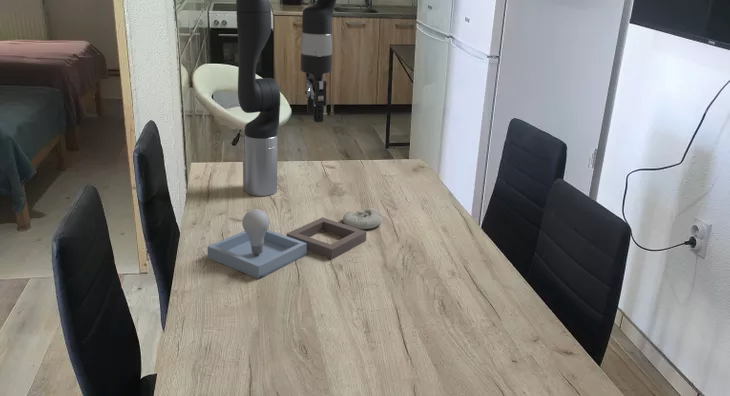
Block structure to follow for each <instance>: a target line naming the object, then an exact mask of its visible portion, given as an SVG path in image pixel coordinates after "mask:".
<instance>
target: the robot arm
mask: <svg viewBox="0 0 730 396" xmlns="http://www.w3.org/2000/svg"><path fill="white" fill-rule="evenodd" d="M235 2H236V3H235V4H236V5H235V8H236V9H235V10H236V13H235V14H236V27H237V29H236V30H237V43H238V45H237V46H238V71H237V72H238V73H237V99H238V104H239V106H240V109H241V110H242V111H243V112H244V113H246V114H247V113H248V114H253V113H259V114H257V116H256V117H255V118H254V119H252V120H250V121H249V122H247V123H246V124H245V126H244V158H243V159H242V189H243V191H245V193H246V194H248V195H250V196H260V197H266V196H271V195H274V194H276V193H277V192H278V129H279V126H280V112H281V111H280V110H281V91H280V86H279V84H278V82H277V81H276V79H274V78H272V77H264V78H263V77H262V78H257V77H256V74H257V72H256V71H257V65H258V61H259V58H260V55H261V53H262V51H263V49H264V48H265V46H266V44H267V42H268V40H269V38H270V35H271V33H272V6H271V3H270V0H235ZM336 3H337V0H317V1H316V3H315V4H313V5H311V6H308V7H306V8H303V11H302V14H301V16H302V18H301V19H302V20H301V22H302V23H301V30H302V31H301V32H302V33H301V40H300V71H301V72H303V73H304V74H305V91H304V94H305V95H306V99H307V102H306V103H307V109H306V110H307V111H306V112H307V114H309V115H313V122H314V123H322V122H323V121H324V107H326V105H327V83H328V82H327V80H324V76H323V75H324V74H329V73H331V72H332V64H333V63H332V62H333V58H332V57H333V39H332V28H333V27H332V24H333V23H332V22H333V13H334V10H335V5H336ZM319 99H320V100H319Z"/></svg>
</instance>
